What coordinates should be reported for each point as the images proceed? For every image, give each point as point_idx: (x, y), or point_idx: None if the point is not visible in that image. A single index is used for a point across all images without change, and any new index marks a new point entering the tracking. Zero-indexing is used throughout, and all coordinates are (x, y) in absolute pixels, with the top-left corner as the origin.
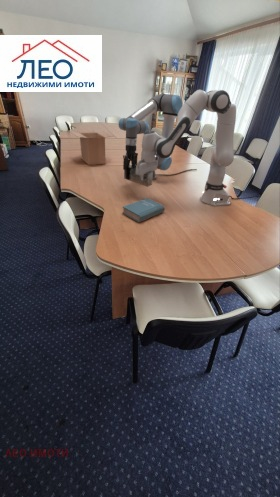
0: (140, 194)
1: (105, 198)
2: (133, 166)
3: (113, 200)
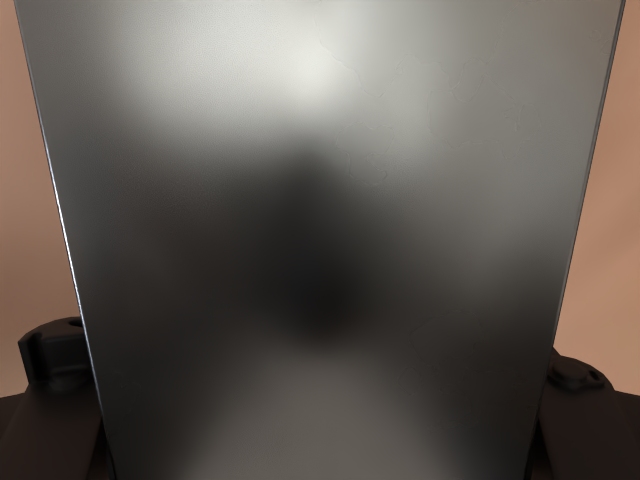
0: None
1: (635, 279)
2: (210, 416)
3: (631, 176)
